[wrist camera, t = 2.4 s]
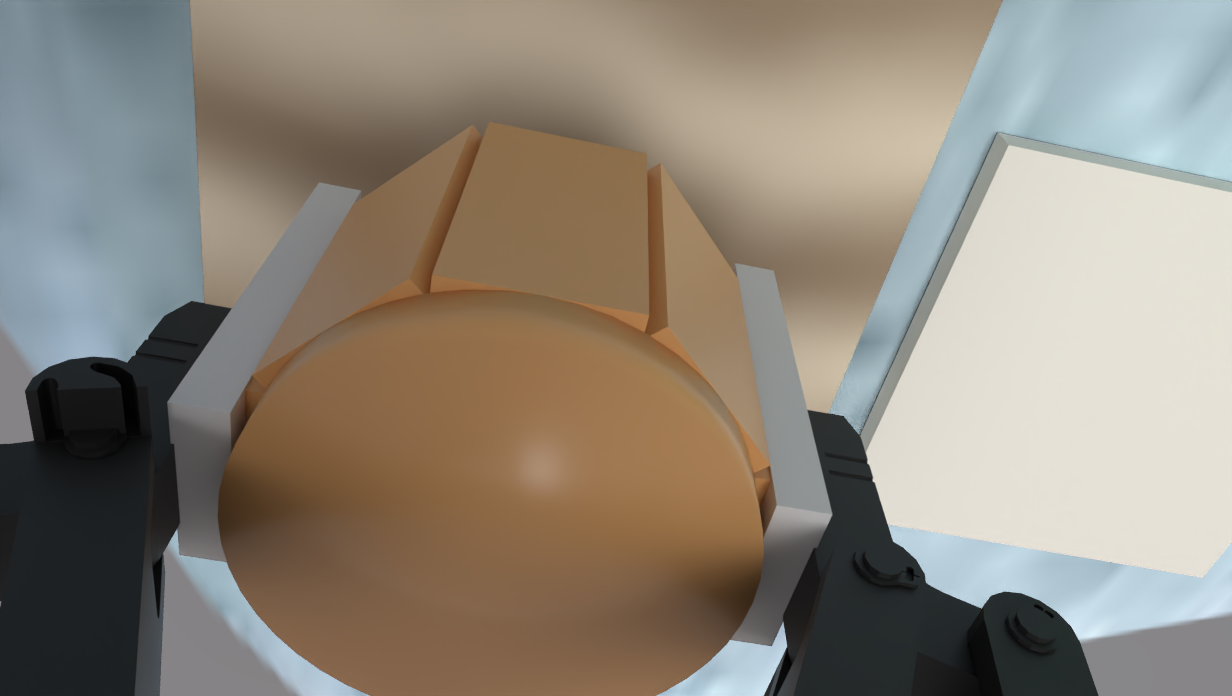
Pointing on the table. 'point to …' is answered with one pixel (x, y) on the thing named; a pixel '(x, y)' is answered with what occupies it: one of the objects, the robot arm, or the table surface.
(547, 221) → the cap
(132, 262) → the table surface
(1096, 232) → the pad
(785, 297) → the post base
